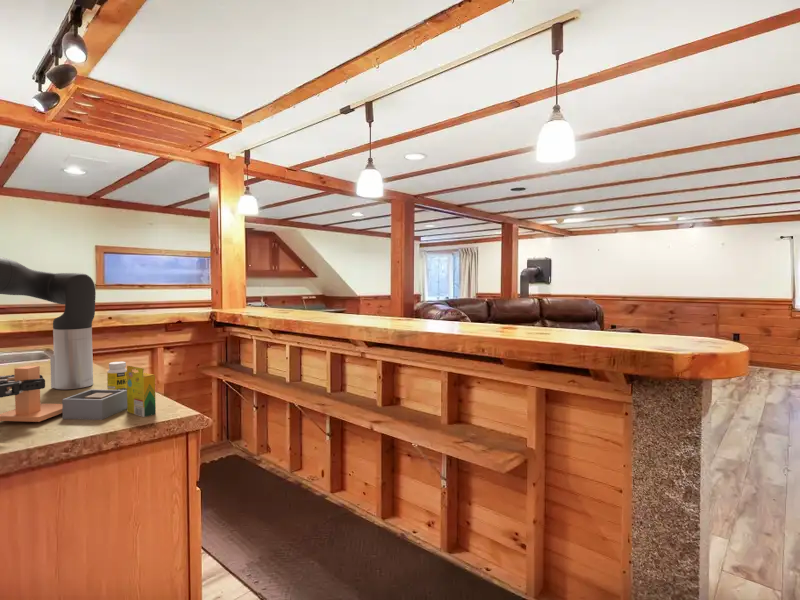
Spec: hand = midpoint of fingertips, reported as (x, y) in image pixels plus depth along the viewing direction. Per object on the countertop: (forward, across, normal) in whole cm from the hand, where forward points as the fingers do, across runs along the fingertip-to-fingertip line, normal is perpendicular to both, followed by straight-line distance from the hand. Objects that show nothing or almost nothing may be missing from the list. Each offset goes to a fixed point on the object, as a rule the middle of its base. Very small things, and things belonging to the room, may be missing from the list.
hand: (43, 381), depth 101 cm
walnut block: (+10, -3, +8) cm, 13 cm away
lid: (-1, +1, +8) cm, 8 cm away
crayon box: (+17, -10, +9) cm, 22 cm away
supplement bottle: (+18, +18, +9) cm, 27 cm away
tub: (+9, -4, +9) cm, 13 cm away
